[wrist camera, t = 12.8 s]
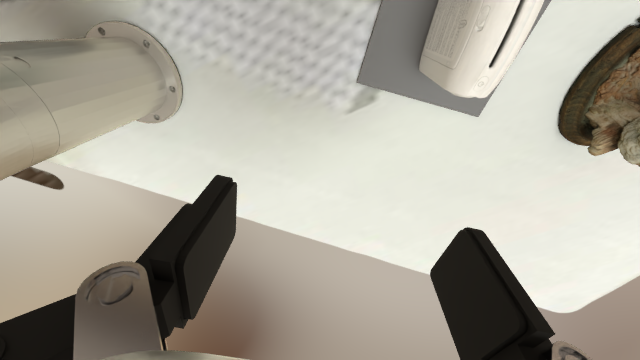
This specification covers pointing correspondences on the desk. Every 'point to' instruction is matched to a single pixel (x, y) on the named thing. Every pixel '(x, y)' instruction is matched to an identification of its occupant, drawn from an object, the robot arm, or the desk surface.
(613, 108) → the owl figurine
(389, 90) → the mat
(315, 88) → the desk surface
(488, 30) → the photo printer
